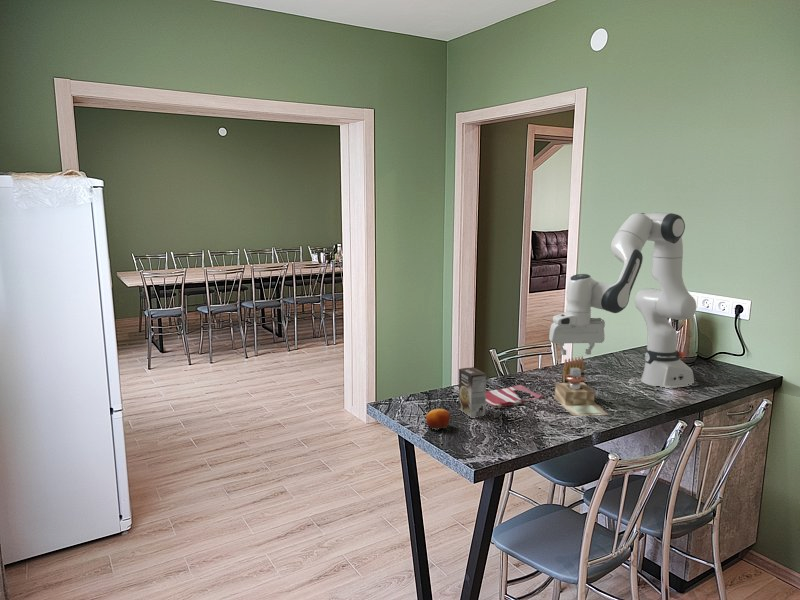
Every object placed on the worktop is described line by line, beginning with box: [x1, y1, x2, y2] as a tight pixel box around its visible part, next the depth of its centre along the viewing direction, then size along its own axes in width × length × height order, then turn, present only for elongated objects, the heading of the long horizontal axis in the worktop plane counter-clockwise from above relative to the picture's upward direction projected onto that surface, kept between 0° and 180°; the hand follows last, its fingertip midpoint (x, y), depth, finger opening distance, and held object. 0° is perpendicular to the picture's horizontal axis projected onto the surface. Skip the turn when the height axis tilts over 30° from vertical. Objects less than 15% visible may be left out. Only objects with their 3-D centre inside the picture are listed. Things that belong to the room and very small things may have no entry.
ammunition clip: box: [561, 355, 585, 383], centre depth 246 cm, size 11×2×12 cm, turn 117°
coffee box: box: [458, 367, 487, 417], centre depth 214 cm, size 9×6×16 cm
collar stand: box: [552, 381, 609, 417], centre depth 221 cm, size 13×22×6 cm, turn 5°
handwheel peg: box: [566, 368, 586, 390], centre depth 225 cm, size 7×7×12 cm
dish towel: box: [486, 384, 545, 409], centre depth 231 cm, size 17×23×3 cm
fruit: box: [425, 408, 451, 429], centre depth 202 cm, size 8×8×8 cm
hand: (575, 354), depth 223 cm, fingers open, 8 cm apart
